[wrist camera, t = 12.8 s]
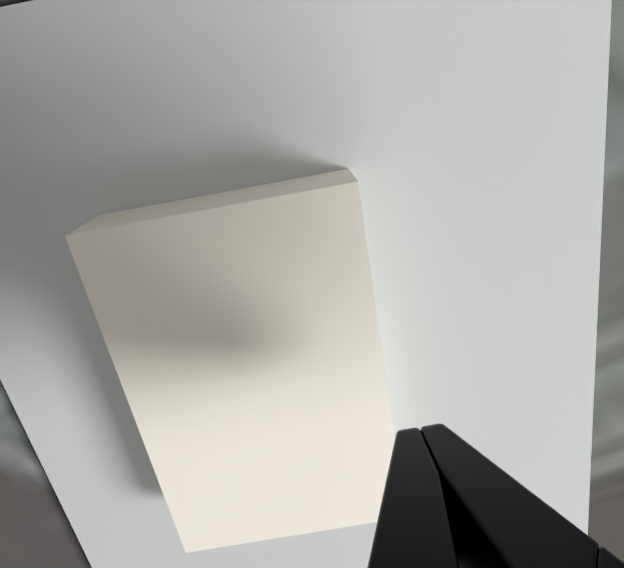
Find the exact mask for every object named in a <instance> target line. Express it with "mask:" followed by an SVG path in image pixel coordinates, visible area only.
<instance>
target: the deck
mask: <svg viewBox="0 0 624 568" xmlns="http://www.w3.org/2000/svg"><path fill="white" fill-rule="evenodd" d="M65 238H66V240H67V243H68V246H69V248H70V251H71V253H72V256H73V259H74V261H75V264H76V267H77V269H78V272H79V274H80V277H81V280H82V282H83V285H84V288H85V290H86V293H87V295H88V298H89V301H90V303H91V306H92V309H93V311H94V314H95V316H96V319H97V322H98V324H99V327H100V330H101V332H102V335H103V337H104V340H105V343H106V345H107V348H108V350H109V353H110V356H111V358H112V361H113V364H114V366H115V369H116V371H117V374H118V377H119V379H120V382H121V385H122V387H123V390H124V392H125V395H126V398H127V400H128V403H129V406H130V408H131V411H132V413H133V416H134V419H135V421H136V424H137V427H138V429H139V432H140V434H141V437H142V440H143V442H144V445H145V448H146V450H147V453H148V455H149V458H150V461H151V463H152V466H153V469H154V471H155V474H156V476H157V479H158V482H159V484H160V487H161V490H162V492H163V495H164V497H165V500H166V503H167V505H168V508H169V511H170V513H171V516H172V518H173V521H174V524H175V526H176V529H177V531H178V534H179V537H180V539H181V542H182V545H183V547H184V550H185V552H186V553H188V552H194V551H201V550H207V549H213V548H219V547H225V546H232V545H238V544H244V543H250V542H256V541H263V540H269V539H275V538H281V537H287V536H294V535H300V534H306V533H312V532H318V531H325V530H331V529H337V528H343V527H349V526H356V525H362V524H368V523H374V522H377V520H378V516H379V511H380V506H381V502H382V497H383V492H384V488H385V483H386V478H387V474H388V469H389V464H390V460H391V455H392V451H393V446H394V441H395V437H394V430H393V423H392V416H391V409H390V402H389V395H388V388H387V381H386V374H385V367H384V360H383V353H382V346H381V339H380V332H379V325H378V318H377V311H376V304H375V297H374V290H373V283H372V276H371V269H370V262H369V255H368V248H367V241H366V234H365V227H364V220H363V213H362V206H361V199H360V191H359V184H358V181H357V179H356V178H355V177H354V175H353V174H352V172H351V171H350V170H349V168H348V169H343V170H337V171H332V172H327V173H321V174H316V175H311V176H305V177H300V178H295V179H289V180H284V181H278V182H273V183H268V184H262V185H257V186H252V187H246V188H241V189H236V190H230V191H225V192H219V193H214V194H209V195H203V196H198V197H193V198H187V199H182V200H177V201H171V202H166V203H160V204H155V205H150V206H144V207H139V208H134V209H128V210H123V211H118V212H112V213H107V214H101V215H98V216H96V217H94V218H93V219H91V220H90V221H88V222H86V223H85V224H83V225H82V226H80V227H78V228H77V229H75V230H74V231H72V232H70V233H69V234H67V235H65Z"/></svg>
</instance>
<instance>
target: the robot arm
mask: <svg viewBox="0 0 624 568" xmlns="http://www.w3.org/2000/svg"><path fill="white" fill-rule="evenodd" d="M367 568H624V563H623V562H622V561H621V560H620V559H618V558H617V557H616V556H614V555H613V554H612V553H610V552H609V551H608V550H607V549H605V548H604V547H599V545H598V543H597V542H596V541H595V540H593V539H592V538H591V537H589V536H588V535H587V534H585V533H584V532H583V531H582V530H580V529H579V528H578V527H576V526H575V525H574V524H572V523H571V522H570V521H569V520H567V519H566V518H565V517H563V516H562V515H561V514H559V513H558V512H557V511H556V510H554V509H553V508H552V507H550V506H549V505H548V504H546V503H545V502H544V501H543V500H541V499H540V498H539V497H537V496H536V495H535V494H534V493H532V492H531V491H530V490H528V489H527V488H526V487H524V486H523V485H522V484H521V483H519V482H518V481H517V480H515V479H514V478H513V477H511V476H510V475H509V474H508V473H506V472H505V471H504V470H502V469H501V468H500V467H498V466H497V465H496V464H495V463H493V462H492V461H491V460H489V459H488V458H487V457H485V456H484V455H483V454H482V453H480V452H479V451H478V450H476V449H475V448H474V447H472V446H471V445H470V444H469V443H467V442H466V441H465V440H463V439H462V438H461V437H459V436H458V435H457V434H456V433H454V432H453V431H452V430H450V429H449V428H448V427H447V426H445V425H444V424H441V423H439V424H433V425H427V426H422V427H421V429H419V428H416V427H415V428H409V429H403V430H399V431H397V433H396V437H395V441H394V446H393V451H392V455H391V460H390V464H389V469H388V474H387V478H386V483H385V488H384V492H383V497H382V502H381V506H380V511H379V516H378V520H377V525H376V529H375V534H374V539H373V543H372V548H371V553H370V557H369V562H368V567H367Z"/></svg>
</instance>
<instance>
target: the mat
mask: <svg viewBox="0 0 624 568" xmlns="http://www.w3.org/2000/svg"><path fill="white" fill-rule="evenodd" d="M611 1H612V0H32V1H27V2H22V3H17V4H12V5H8V6H3V7H0V380H1V382H2V384H3V386H4V388H5V390H6V392H7V394H8V396H9V398H10V400H11V402H12V404H13V407H14V409H15V411H16V413H17V415H18V417H19V419H20V421H21V423H22V425H23V427H24V429H25V431H26V433H27V435H28V437H29V439H30V441H31V443H32V446H33V448H34V450H35V452H36V454H37V456H38V458H39V460H40V462H41V464H42V466H43V468H44V470H45V472H46V474H47V476H48V478H49V480H50V483H51V485H52V487H53V489H54V491H55V493H56V495H57V497H58V499H59V501H60V503H61V505H62V507H63V509H64V511H65V513H66V515H67V517H68V519H69V522H70V524H71V526H72V528H73V530H74V532H75V534H76V536H77V538H78V540H79V542H80V544H81V546H82V548H83V550H84V552H85V554H86V556H87V559H88V561H89V563H90V565H91V567H92V568H367V567H368V562H369V557H370V553H371V548H372V543H373V539H374V534H375V529H376V525H377V522H374V523H368V524H362V525H356V526H349V527H343V528H337V529H331V530H325V531H318V532H312V533H306V534H300V535H294V536H287V537H281V538H275V539H269V540H263V541H256V542H250V543H244V544H238V545H232V546H225V547H219V548H213V549H207V550H201V551H194V552H188V553H186V552H185V550H184V547H183V545H182V542H181V539H180V537H179V534H178V531H177V529H176V526H175V524H174V521H173V518H172V516H171V513H170V511H169V508H168V505H167V503H166V500H165V497H164V495H163V492H162V490H161V487H160V484H159V482H158V479H157V476H156V474H155V471H154V469H153V466H152V463H151V461H150V458H149V455H148V453H147V450H146V448H145V445H144V442H143V440H142V437H141V434H140V432H139V429H138V427H137V424H136V421H135V419H134V416H133V413H132V411H131V408H130V406H129V403H128V400H127V398H126V395H125V392H124V390H123V387H122V385H121V382H120V379H119V377H118V374H117V371H116V369H115V366H114V364H113V361H112V358H111V356H110V353H109V350H108V348H107V345H106V343H105V340H104V337H103V335H102V332H101V330H100V327H99V324H98V322H97V319H96V316H95V314H94V311H93V309H92V306H91V303H90V301H89V298H88V295H87V293H86V290H85V288H84V285H83V282H82V280H81V277H80V274H79V272H78V269H77V267H76V264H75V261H74V259H73V256H72V253H71V251H70V248H69V246H68V243H67V240H66V238H65V235H67V234H69V233H70V232H72V231H74V230H75V229H77V228H78V227H80V226H82V225H83V224H85V223H86V222H88V221H90V220H91V219H93V218H94V217H96V216H98V215H101V214H107V213H112V212H118V211H123V210H128V209H134V208H139V207H144V206H150V205H155V204H160V203H166V202H171V201H177V200H182V199H187V198H193V197H198V196H203V195H209V194H214V193H219V192H225V191H230V190H236V189H241V188H246V187H252V186H257V185H262V184H268V183H273V182H278V181H284V180H289V179H295V178H300V177H305V176H311V175H316V174H321V173H327V172H332V171H337V170H343V169H348V168H349V170H350V171H351V172H352V174H353V175H354V177H355V178H356V179H357V181H358V184H359V191H360V199H361V206H362V213H363V220H364V227H365V234H366V241H367V248H368V255H369V262H370V269H371V276H372V283H373V290H374V297H375V304H376V311H377V318H378V325H379V332H380V339H381V346H382V353H383V360H384V367H385V374H386V381H387V388H388V395H389V402H390V409H391V416H392V423H393V430H394V437H396V433H397V431H399V430H403V429H409V428H415V427H416V428H419V429H421V427H422V426H427V425H433V424H439V423H441V424H444V425H445V426H447V427H448V428H449V429H450V430H452V431H453V432H454V433H456V434H457V435H458V436H459V437H461V438H462V439H463V440H465V441H466V442H467V443H469V444H470V445H471V446H472V447H474V448H475V449H476V450H478V451H479V452H480V453H482V454H483V455H484V456H485V457H487V458H488V459H489V460H491V461H492V462H493V463H495V464H496V465H497V466H498V467H500V468H501V469H502V470H504V471H505V472H506V473H508V474H509V475H510V476H511V477H513V478H514V479H515V480H517V481H518V482H519V483H521V484H522V485H523V486H524V487H526V488H527V489H528V490H530V491H531V492H532V493H534V494H535V495H536V496H537V497H539V498H540V499H541V500H543V501H544V502H545V503H546V504H548V505H549V506H550V507H552V508H553V509H554V510H556V511H557V512H558V513H559V514H561V515H562V516H563V517H565V518H566V519H567V520H569V521H570V522H571V523H572V524H574V525H575V526H576V527H578V528H579V529H580V530H582V531H583V532H584V533H585V534H587V535H588V513H589V490H590V468H591V446H592V424H593V402H594V379H595V357H596V335H597V313H598V290H599V268H600V246H601V224H602V202H603V179H604V157H605V135H606V113H607V90H608V68H609V46H610V24H611Z"/></svg>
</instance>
